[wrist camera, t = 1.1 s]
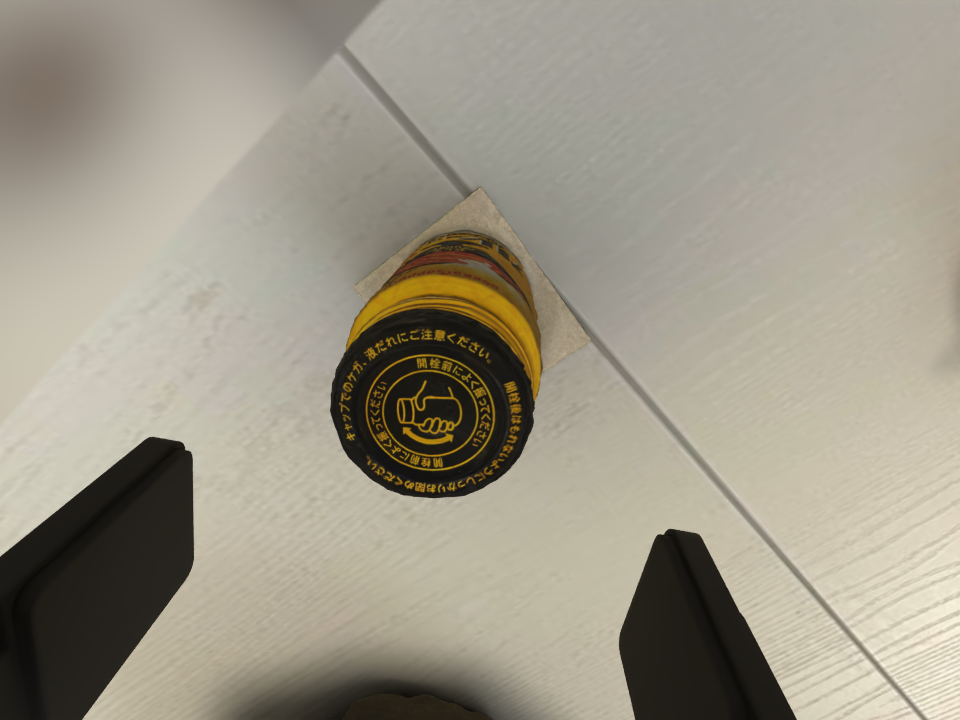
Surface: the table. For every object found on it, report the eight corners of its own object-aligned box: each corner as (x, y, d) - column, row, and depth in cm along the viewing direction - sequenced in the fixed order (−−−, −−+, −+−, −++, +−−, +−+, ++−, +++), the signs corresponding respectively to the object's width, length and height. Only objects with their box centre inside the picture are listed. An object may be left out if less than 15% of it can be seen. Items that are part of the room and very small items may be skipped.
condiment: (481, 186, 23) (455, 224, 12) (591, 339, 25) (656, 494, 14) (353, 286, 25) (226, 401, 14) (466, 420, 27) (436, 614, 16)
